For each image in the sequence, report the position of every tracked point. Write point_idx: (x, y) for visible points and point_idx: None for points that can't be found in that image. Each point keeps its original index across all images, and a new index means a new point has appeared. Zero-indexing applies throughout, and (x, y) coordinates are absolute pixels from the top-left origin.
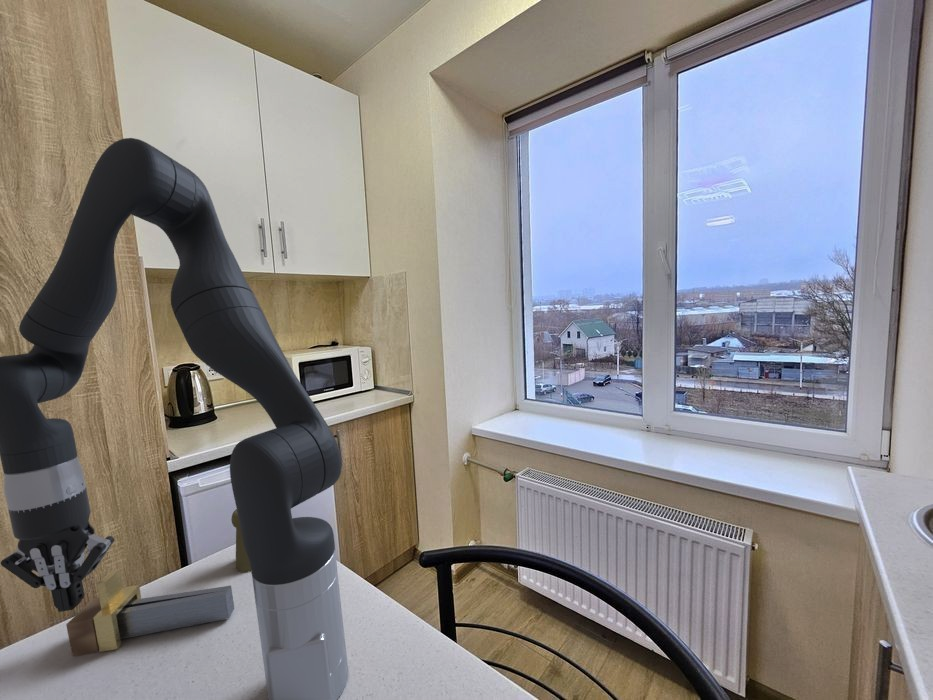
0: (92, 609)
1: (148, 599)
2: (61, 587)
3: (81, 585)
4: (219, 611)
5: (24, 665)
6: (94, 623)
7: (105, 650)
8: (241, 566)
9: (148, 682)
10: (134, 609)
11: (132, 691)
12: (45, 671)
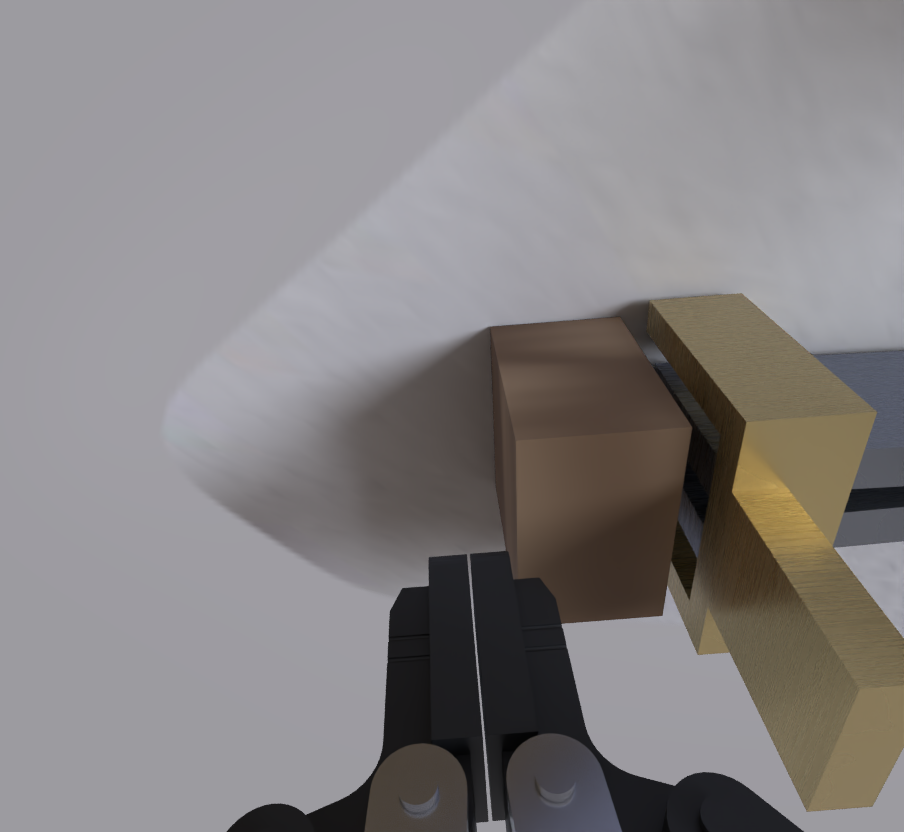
0: (595, 539)
1: None
2: (484, 806)
3: (572, 687)
4: None
5: (292, 502)
6: (684, 622)
7: None
8: None
9: (896, 614)
10: (866, 535)
11: None
12: (434, 538)
